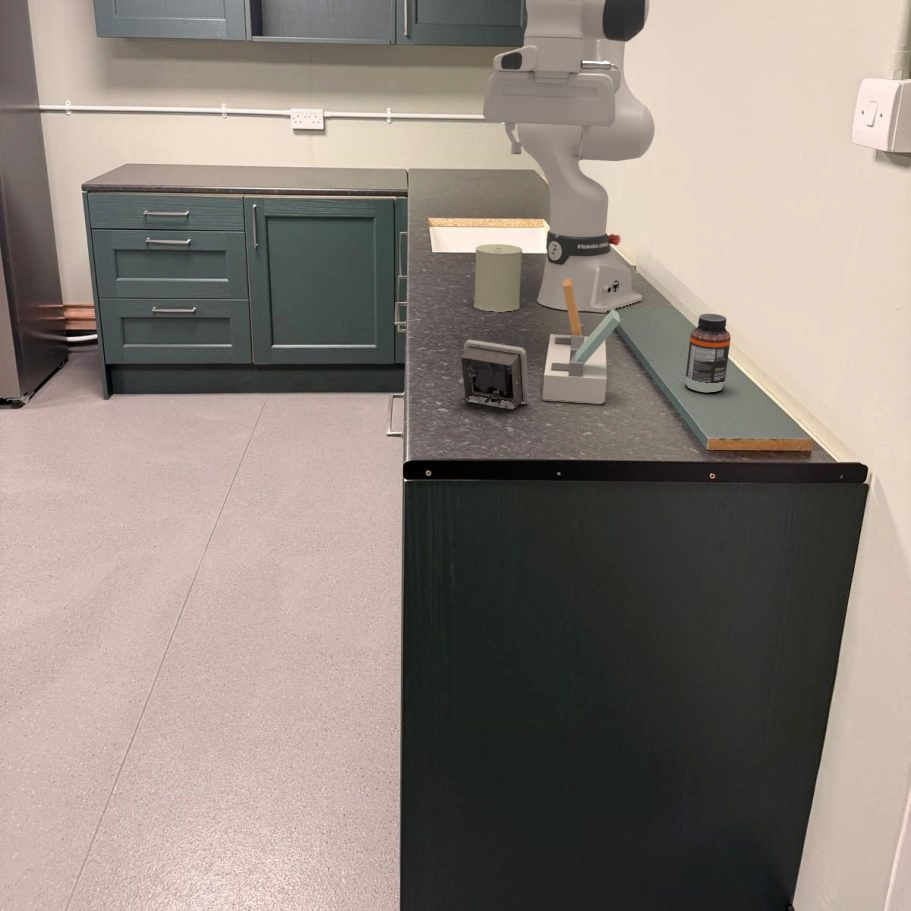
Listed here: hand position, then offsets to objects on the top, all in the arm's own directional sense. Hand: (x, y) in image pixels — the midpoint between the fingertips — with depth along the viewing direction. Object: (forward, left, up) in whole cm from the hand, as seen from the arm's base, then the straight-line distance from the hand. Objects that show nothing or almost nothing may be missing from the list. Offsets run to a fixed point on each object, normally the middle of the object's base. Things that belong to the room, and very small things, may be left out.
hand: (546, 155), depth 151 cm
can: (-15, -28, -32) cm, 46 cm away
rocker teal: (+9, +19, -27) cm, 34 cm away
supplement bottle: (-10, +28, -32) cm, 44 cm away
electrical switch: (+22, +15, -32) cm, 42 cm away
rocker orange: (-1, +9, -27) cm, 29 cm away
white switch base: (+2, +12, -32) cm, 34 cm away
